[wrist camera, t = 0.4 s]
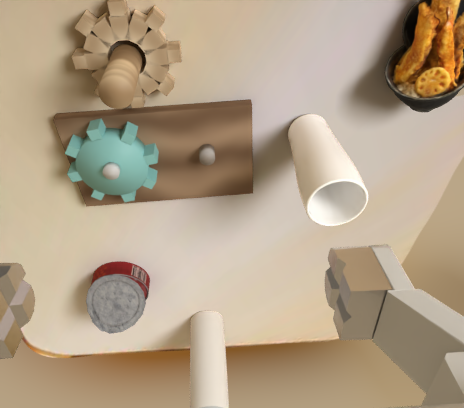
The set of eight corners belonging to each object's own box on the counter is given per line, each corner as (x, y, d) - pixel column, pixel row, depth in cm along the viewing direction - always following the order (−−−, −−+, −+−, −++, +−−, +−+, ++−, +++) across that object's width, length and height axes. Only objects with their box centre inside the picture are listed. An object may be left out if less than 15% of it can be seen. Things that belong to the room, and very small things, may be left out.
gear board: (56, 113, 49) (48, 128, 46) (250, 99, 50) (253, 113, 47) (88, 199, 58) (83, 215, 56) (251, 186, 59) (254, 202, 56)
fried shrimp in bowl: (383, 132, 49) (380, 9, 34) (387, 63, 53) (386, -74, 38) (470, 129, 45) (510, -11, 30) (467, 55, 49) (500, -100, 34)
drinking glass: (286, 156, 56) (309, 233, 44) (277, 114, 51) (301, 187, 40) (334, 144, 55) (370, 219, 44) (330, 100, 51) (369, 172, 39)
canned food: (100, 266, 75) (62, 299, 67) (127, 240, 70) (90, 273, 62) (141, 308, 76) (109, 346, 68) (171, 287, 71) (141, 325, 63)
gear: (52, 130, 49) (44, 145, 46) (140, 108, 48) (137, 123, 45) (93, 198, 56) (88, 215, 54) (170, 181, 55) (169, 197, 53)
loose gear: (62, -2, 41) (30, 33, 33) (173, -9, 41) (168, 24, 33) (92, 101, 48) (72, 149, 40) (186, 94, 49) (185, 141, 41)
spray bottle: (214, 306, 78) (221, 448, 60) (228, 322, 83) (238, 460, 64) (184, 316, 80) (181, 457, 61) (199, 331, 84) (201, 468, 65)
